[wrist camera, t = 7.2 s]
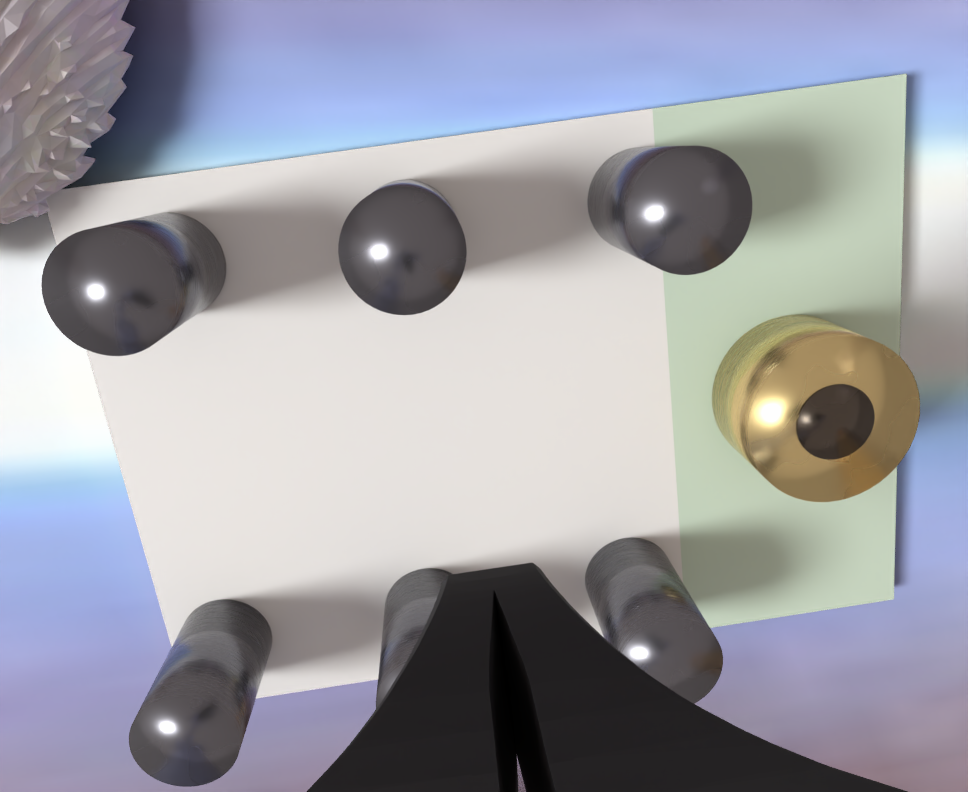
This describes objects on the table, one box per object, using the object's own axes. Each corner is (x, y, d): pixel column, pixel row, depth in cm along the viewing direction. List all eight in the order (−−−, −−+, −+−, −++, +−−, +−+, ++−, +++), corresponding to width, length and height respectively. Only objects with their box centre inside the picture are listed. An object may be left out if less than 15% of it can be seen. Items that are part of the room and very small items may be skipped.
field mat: (882, 588, 23) (893, 599, 23) (195, 694, 23) (189, 708, 22) (892, 75, 19) (906, 73, 19) (52, 190, 19) (41, 191, 18)
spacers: (709, 602, 22) (767, 695, 19) (193, 682, 22) (144, 794, 18) (684, 140, 19) (750, 137, 15) (64, 226, 18) (-31, 245, 14)
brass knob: (857, 457, 21) (912, 496, 19) (709, 468, 21) (745, 509, 19) (870, 309, 20) (930, 331, 18) (713, 319, 20) (753, 343, 18)
